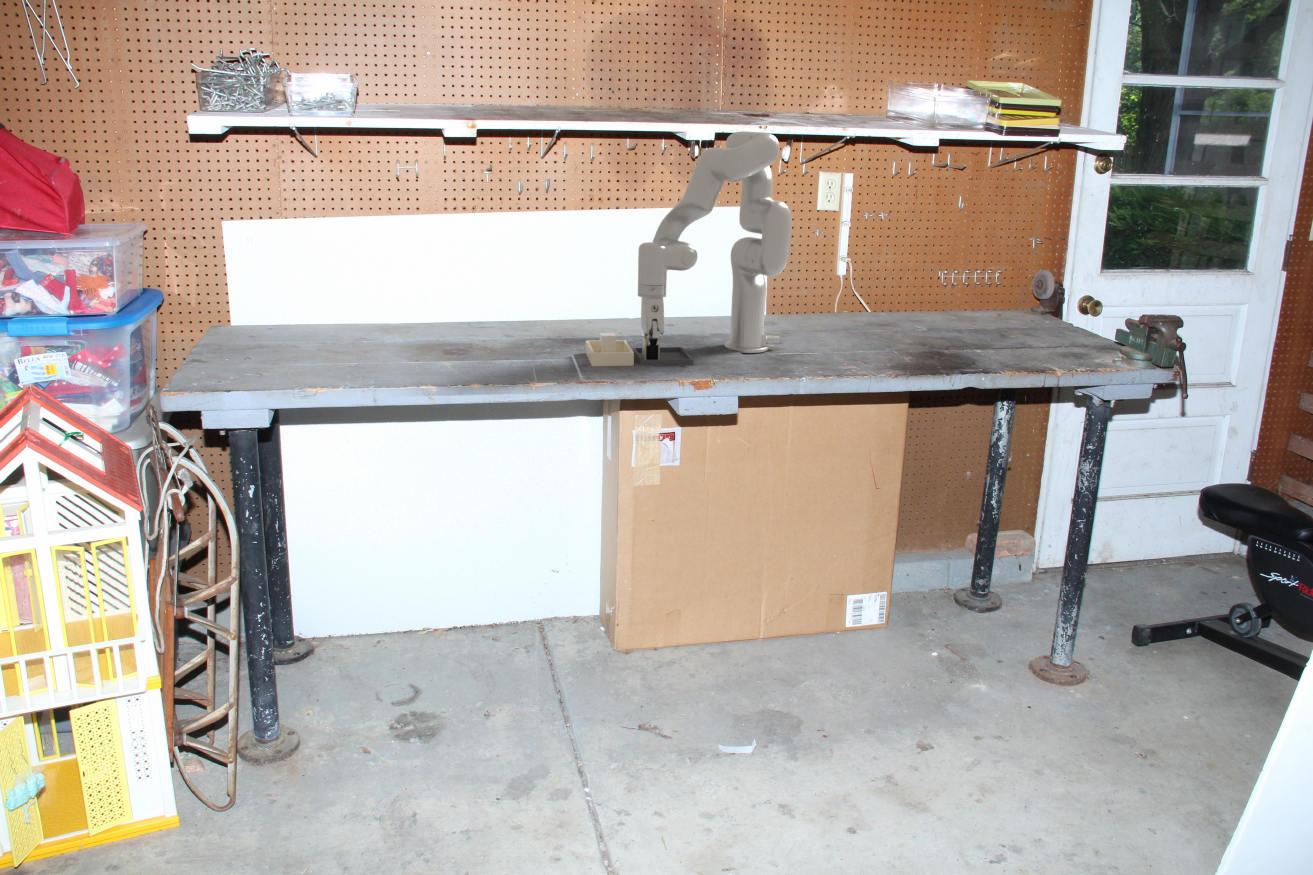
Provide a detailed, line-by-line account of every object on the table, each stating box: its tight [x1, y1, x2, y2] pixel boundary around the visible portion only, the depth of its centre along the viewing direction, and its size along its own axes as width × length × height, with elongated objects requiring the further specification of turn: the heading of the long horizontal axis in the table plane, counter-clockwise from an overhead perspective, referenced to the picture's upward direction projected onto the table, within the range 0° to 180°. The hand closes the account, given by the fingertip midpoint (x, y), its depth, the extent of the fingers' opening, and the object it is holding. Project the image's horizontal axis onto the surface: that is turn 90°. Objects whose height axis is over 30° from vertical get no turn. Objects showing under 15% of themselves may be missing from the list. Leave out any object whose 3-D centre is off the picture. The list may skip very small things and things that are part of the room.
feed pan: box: [631, 346, 694, 366], centre depth 266 cm, size 14×15×2 cm
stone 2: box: [641, 335, 661, 360], centre depth 263 cm, size 4×4×6 cm
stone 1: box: [599, 332, 617, 352], centre depth 266 cm, size 4×4×6 cm
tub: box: [585, 339, 635, 367], centre depth 263 cm, size 11×15×4 cm
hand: (650, 357), depth 264 cm, fingers closed on stone 2, 4 cm apart
